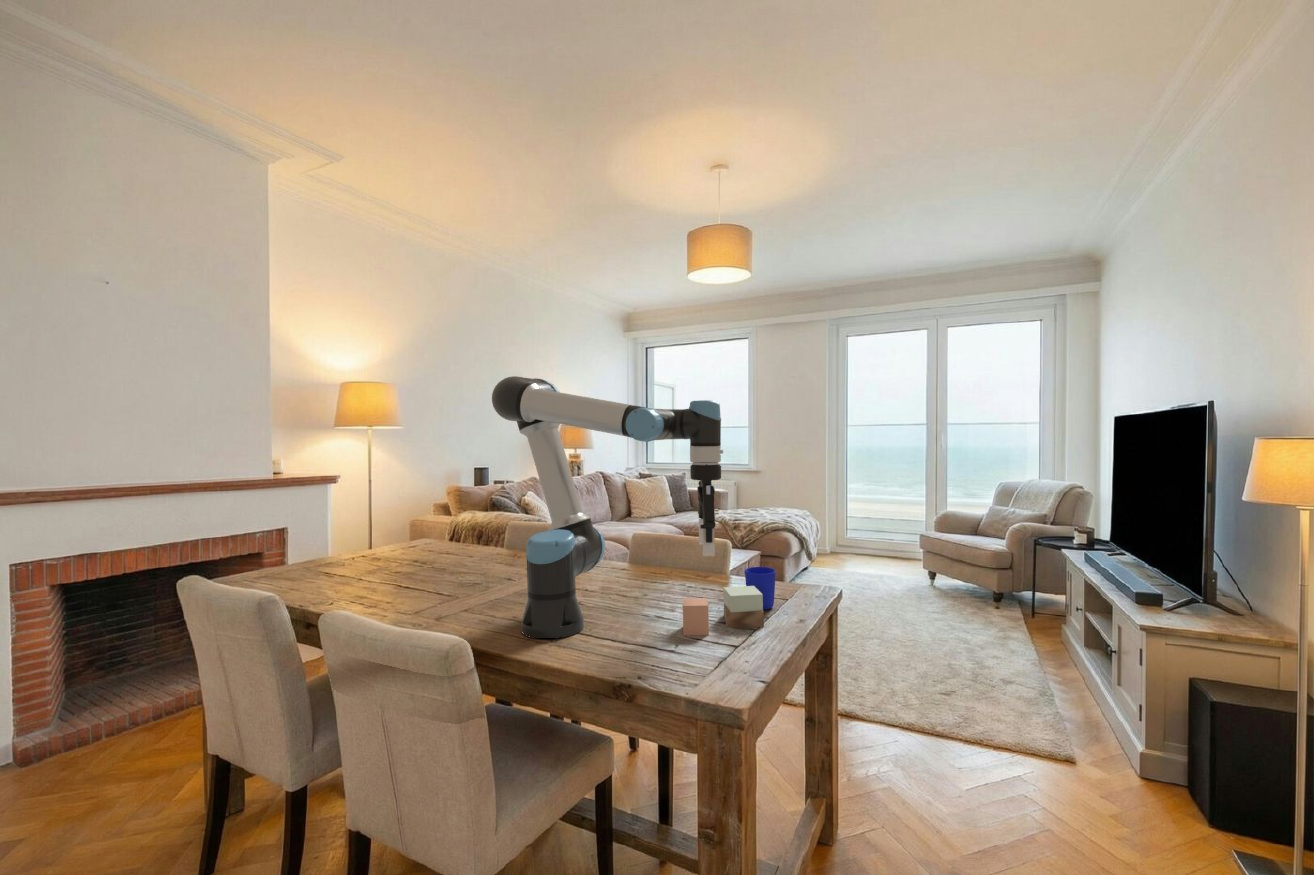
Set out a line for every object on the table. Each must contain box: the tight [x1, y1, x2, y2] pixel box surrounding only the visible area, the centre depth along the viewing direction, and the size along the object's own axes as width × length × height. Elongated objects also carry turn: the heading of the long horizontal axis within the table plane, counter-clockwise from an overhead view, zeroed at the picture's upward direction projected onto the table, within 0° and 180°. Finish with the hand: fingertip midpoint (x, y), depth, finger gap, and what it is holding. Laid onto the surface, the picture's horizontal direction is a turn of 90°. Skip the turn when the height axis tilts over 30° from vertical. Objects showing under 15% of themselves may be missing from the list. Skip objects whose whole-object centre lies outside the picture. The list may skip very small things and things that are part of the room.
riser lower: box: [723, 603, 765, 628], centre depth 150 cm, size 9×9×4 cm
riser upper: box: [722, 585, 764, 612], centre depth 150 cm, size 8×8×4 cm
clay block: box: [682, 597, 710, 636], centre depth 144 cm, size 6×6×7 cm
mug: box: [744, 566, 777, 611], centre depth 163 cm, size 8×12×10 cm
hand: (706, 550), depth 147 cm, fingers open, 13 cm apart
